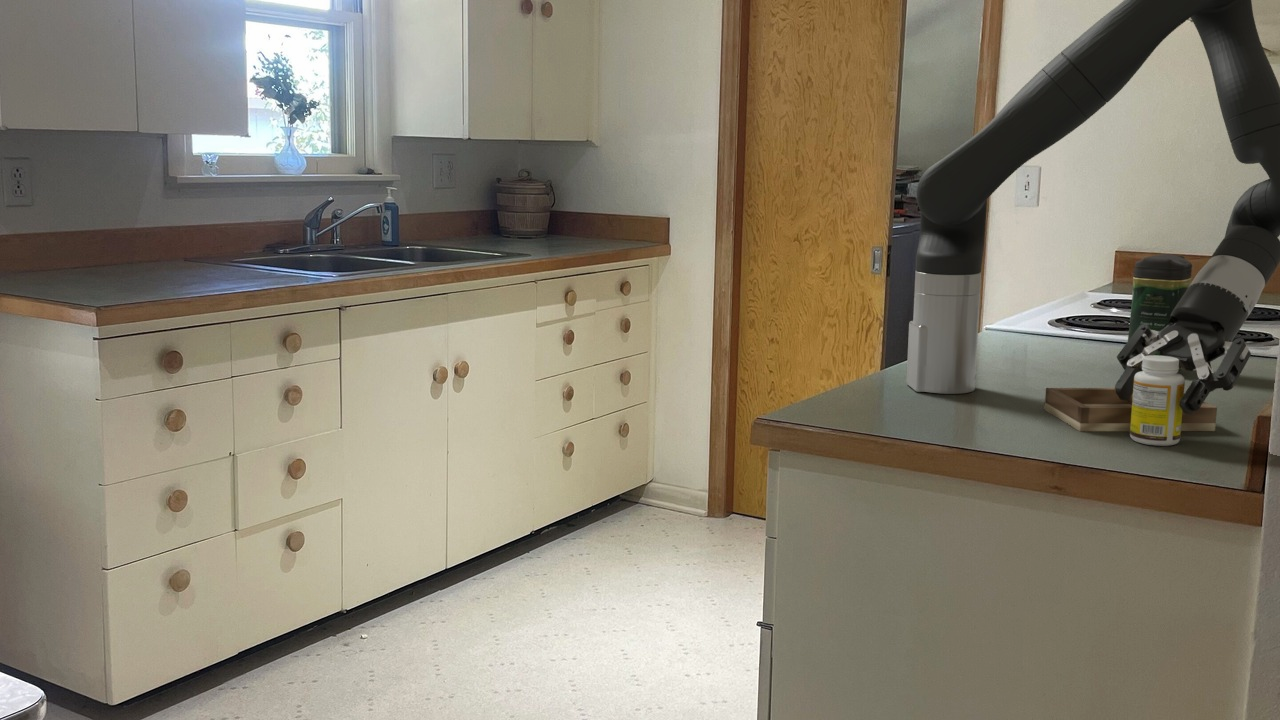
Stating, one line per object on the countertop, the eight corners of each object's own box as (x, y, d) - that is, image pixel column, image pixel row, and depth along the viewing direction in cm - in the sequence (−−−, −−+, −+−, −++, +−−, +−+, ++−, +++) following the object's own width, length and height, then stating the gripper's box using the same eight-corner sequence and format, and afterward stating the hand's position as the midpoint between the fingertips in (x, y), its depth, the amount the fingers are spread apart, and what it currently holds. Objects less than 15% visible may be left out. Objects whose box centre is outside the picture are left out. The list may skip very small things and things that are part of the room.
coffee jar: (1172, 378, 175) (1182, 257, 171) (1119, 371, 180) (1128, 254, 176) (1188, 368, 182) (1199, 253, 179) (1137, 363, 187) (1146, 250, 184)
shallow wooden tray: (1079, 431, 141) (1081, 407, 141) (1044, 409, 153) (1046, 388, 152) (1214, 430, 141) (1217, 407, 141) (1169, 409, 153) (1171, 387, 153)
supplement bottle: (1163, 435, 139) (1170, 353, 137) (1189, 446, 134) (1197, 361, 132) (1120, 436, 139) (1126, 354, 137) (1144, 447, 133) (1151, 362, 131)
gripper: (1154, 275, 143) (1088, 373, 139) (1264, 286, 131) (1195, 394, 127) (1176, 314, 146) (1112, 410, 143) (1286, 328, 134) (1219, 434, 131)
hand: (1151, 403), depth 135 cm, fingers open, 8 cm apart
